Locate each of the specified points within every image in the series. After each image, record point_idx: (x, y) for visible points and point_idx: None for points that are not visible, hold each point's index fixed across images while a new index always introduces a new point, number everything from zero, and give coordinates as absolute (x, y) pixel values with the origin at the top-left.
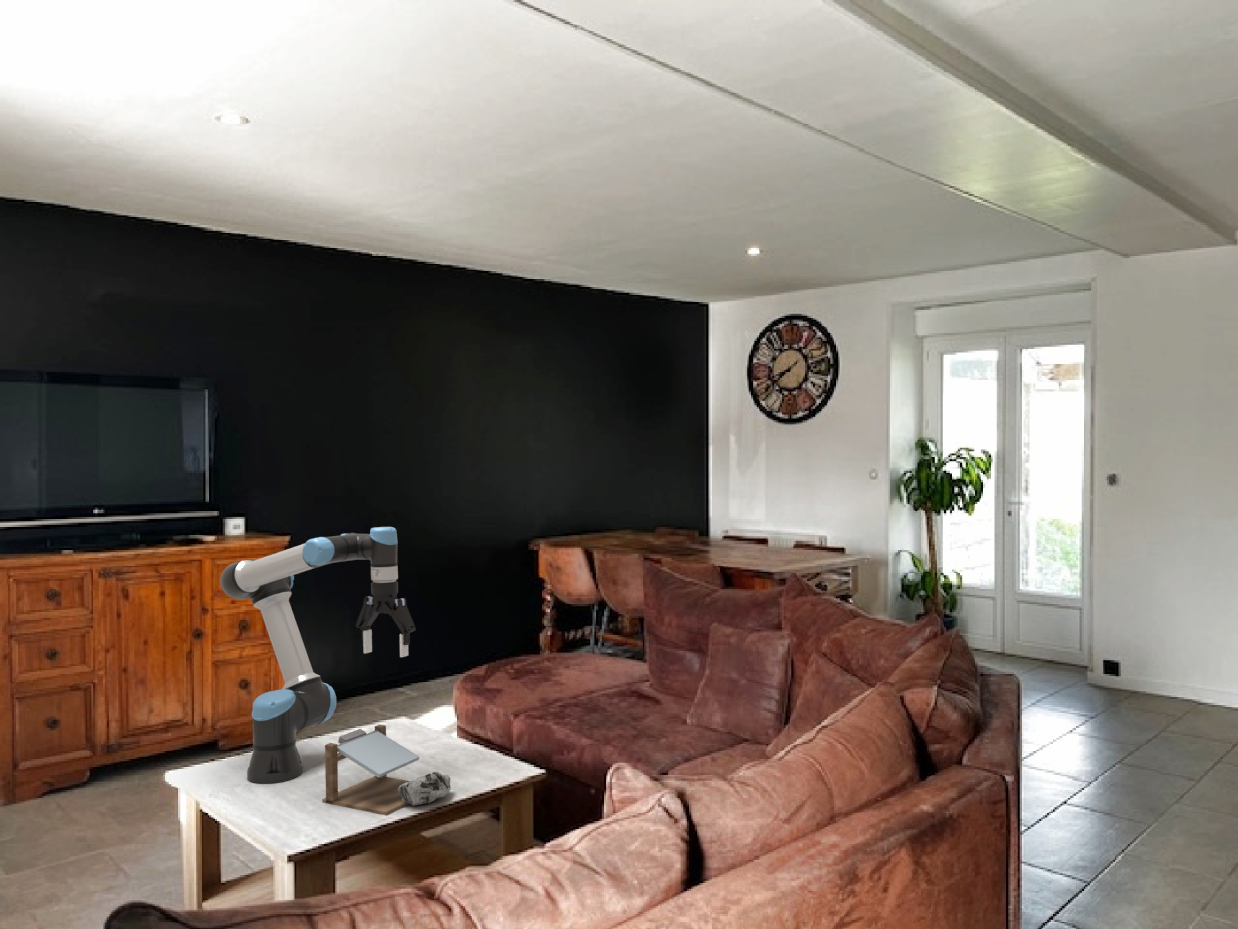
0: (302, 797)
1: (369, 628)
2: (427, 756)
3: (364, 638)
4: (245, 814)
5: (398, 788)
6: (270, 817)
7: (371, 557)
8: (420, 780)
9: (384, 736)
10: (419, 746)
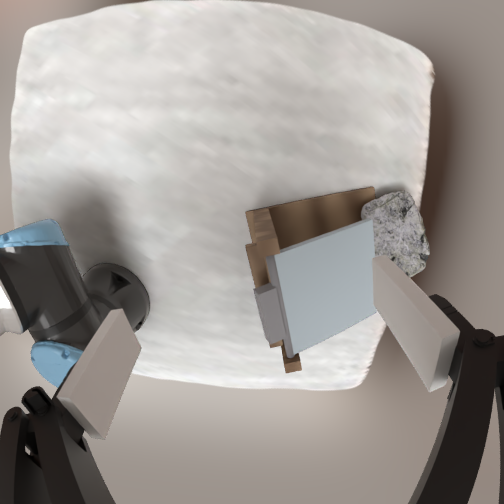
0: (229, 323)
1: (49, 398)
2: (218, 81)
3: (113, 404)
4: (229, 379)
5: (330, 231)
6: (261, 370)
7: None
8: (421, 270)
9: (296, 251)
10: (156, 59)
